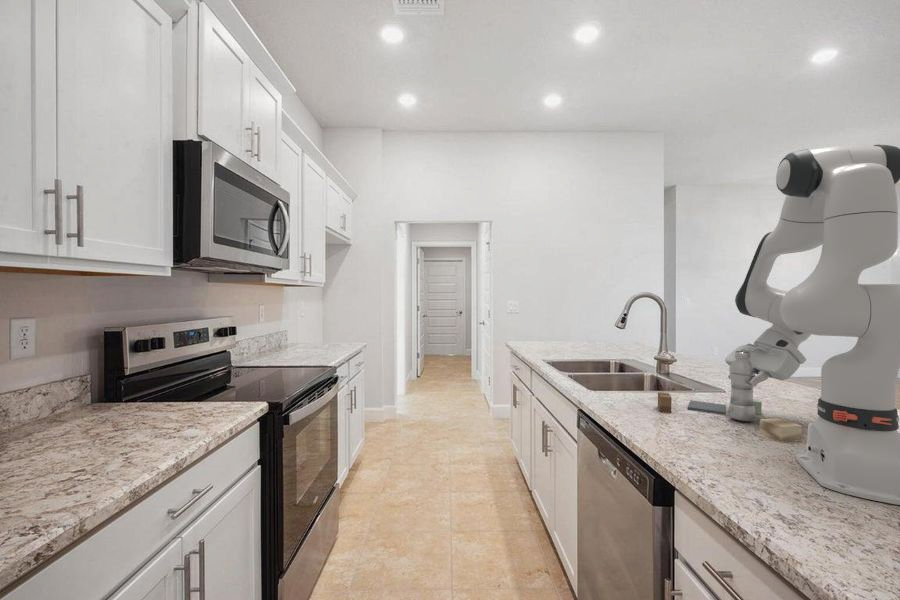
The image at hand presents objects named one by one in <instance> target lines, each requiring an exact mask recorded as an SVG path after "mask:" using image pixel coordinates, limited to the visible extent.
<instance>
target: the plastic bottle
mask: <svg viewBox="0 0 900 600" xmlns="http://www.w3.org/2000/svg"><path fill="white" fill-rule="evenodd" d="M735 358H736V360H735V361H734V362H733V363H732V364H731V366H729V369H728V370H729V374H730V379H731V380H730V379H729V380H730V387H731V388H730V399H729V401H730V402H729V404H728V415H729V416H730V418H731V419H733V420H736V421H739V422H752V421H754V419H755V418H756V417H755V416H756V415H755V407H754V400H753V399H754V386H751V385H749V384H748V383H747V381H748V380H749V379H750V378H751V377H752V378H753V377H755V376H757V374H756V370H755V368H754V366H753V365H752V363H751V362H750V361H749V359H751V357H750V352H747V351H735Z"/></svg>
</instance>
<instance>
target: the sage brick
mask: <svg viewBox="0 0 900 600" xmlns="http://www.w3.org/2000/svg"><path fill="white" fill-rule="evenodd" d="M753 400H754V407H755V414H759V415H758V416H762V404H763V402H762V399H758V398H753Z"/></svg>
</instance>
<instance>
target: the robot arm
mask: <svg viewBox="0 0 900 600" xmlns="http://www.w3.org/2000/svg"><path fill="white" fill-rule="evenodd" d="M775 176H776V177H775V178H776V179H775V182H776V187H777V189H778V191H780V192H781V193H782V194H783V195H785V198H784V200H783V204H782V206H781V210H780V216H779V220H778V223H777V225H776V226H775V228H774V229H773V230H772V231H769V232H767V233H766V234H764V236H763V237H762V239H761V240H760V242H759V244H758V246H757V248H756V250H755V252H754V255H753V257H752V261H751V262H750V265H749V268H748V271H747V273H746V275H745V278H744V280H743V283H742V284H741V286H740V288H739V289H738V291H737V293H736V295H735V299H734V302H735V306H736V308H737V310H738V311H739V313H740V314H742V315H744V316H749V317H752V318H756V319H760V320H762V321H765V322H767V323H770V324H772V325H771V326H770V327H769V328H767V329H765V330H764V331H763V332H762V333H761V335H760V336H758V338H757V339H755V340H754V342H753V344H752V343H747V344H742V345H740V346H738V347H736V348H735V349H734V350H733V351H732V352H730V353H729V354H728V355H727V356H726V357H725V361H724V362H725V363H726V364H727V365H728V366H729V367H730V366H731V364H732V363H733V362H734V361H735V360H736V358H735V351H747V352H750V357H751V359H749V361H750V362H751V363H752V365H753V366H754V368H755V370H756V375H755V377H753V378H752V377H751V378H750V379H749V380H748V381H747V383H748V384H749V385H751V386H754V387H757V386H758V384H760V383H762V382H765V381H767V380H768V379H769V378H771V379H775V380H779V381H786V380H788V379H790V378H791V377H792V376H793V375H794V374H795V373H796V372H797V371H798V369H799V368H800V365H803V364H804V363H805V362H806V361H807V358H806V356H804V355H803V353H802V352H801V351H800V350H799V346H800V345H801V344H802V343H803V342H806V340H808V339H809V338H810V337H811V336H812V335H814V336H822V337H823V336H826V337H847V338H848V337H850V338H851V337H852V338H853V337H854V338H857V341H856V344H855V345H854V346H853V347H852V348H851V349H850V350H848V351H845V352H842V353H839V354H836V355H834V356H831V357H830V358H828V359H827V360H825V362H824V363H823V364H822V365H821V368H820V369H821V373H820V375H821V376H820V378H821V379H820V397H819V398H818V399H817V403H816V407H817V413H816V414H817V416H818V417H817V418H816V419H815V420H814V421H811V422H810V423H808V426H807V436H806V449H805V450H806V451H805V452H806V453H805V454H803V453H802V454H800V453H799V454H796V456H795V461H796V462H797V463H798V464H799V465H800V466H801V467H803V468H804V470H805V471H806V472H807V473H808V474H809V476H810V475H811V477H812V478H813V479H814V480H815V481H816V482H817V483H818V484H819V485H821V487H824V488H827V489H829V490H831V491H835V492H838V493H842V494H844V495H850V496H852V497H853V496H854V497H858V498H862V499H865V500H871V501H877V502H882V503H886V504H891V505H897V506H898V505H899V506H900V432H899V431H898V430H899V429H900V426H899V425H900V424H899V421H900V417H899V414H898V409H897V408H896V407H895V403H896V389H897V381H898V375H899V372H900V371H899V370H900V283H897V284H895V283H894V284H892V283H891V284H889V283H888V284H885V283H883V284H882V283H881V284H879V283H877V284H875V283H874V284H873V283H868V284H864V283H863V284H861V283H859V278H860V275H861V273H862V272H864V270H868V269H869V268H872V267H875V266H878V265H880V264H881V263H884V262H886V261H888V260H889V259H890V258H892V257H893V256H894V255H895V253H896V252H897V250H898V247H899V246H898V245H899V244H898V241H899V239H898V237H899V236H898V235H899V233H898V232H899V231H898V230H899V221H898V218H899V214H898V213H899V212H898V207H899V206H898V195H897V191H896V190H897V189H896V184H897V183H899V181H900V147H897V146H895V145H888V144H874V145H832V146H831V145H830V146H825V147H824V146H823V147H818V148H812V149H808V148H804V149H800V150H796V151H792V152H789V153H787V154H786V155H785V156H784V157H783V158H782V160H781V161H780V162H779V164H778V167H777V171H776V175H775ZM820 246H821V253H820V257H819V260H818V262H817V264H816V266H815V268H814V269H813V271H812V272H811V273H810V274H809V276H808V277H807V278H806V279H804V280H803V281H802V282H800V283H799V284H798V285H796V286H795V287H792V288H791V289H789V290H788V291H785V290H782V289H779V288H775V287H772V286H770V285H769V284H768V279H769V276H770V273H771V272H772V269H773V267H774V264H775V261H776V260H777V258H778V257H780V256H781V255H788V254H797V253H802V252H807V251H808V252H809V251H811V250H814V249H817V248H818V247H820ZM727 378H728V379H729V380H730V381H731V379H730V373H729V374H728V375H727ZM754 387H753V388H754Z"/></svg>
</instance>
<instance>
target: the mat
mask: <svg viewBox="0 0 900 600" xmlns="http://www.w3.org/2000/svg"><path fill="white" fill-rule="evenodd" d="M687 410H689V411H697V412H702V413H703V412H704V413H710V414H711V413H712V414H718V415H724V416H726V412H727V411H726V410H727V404H722V403H714V402H708V401H700V400H690V401H689V402H688V405H687Z"/></svg>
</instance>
